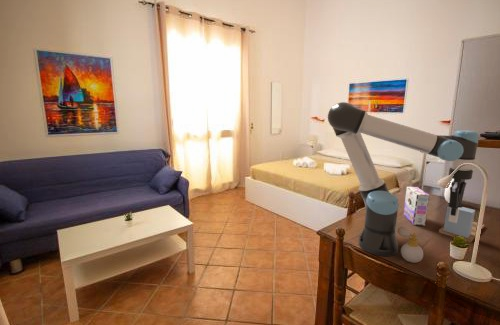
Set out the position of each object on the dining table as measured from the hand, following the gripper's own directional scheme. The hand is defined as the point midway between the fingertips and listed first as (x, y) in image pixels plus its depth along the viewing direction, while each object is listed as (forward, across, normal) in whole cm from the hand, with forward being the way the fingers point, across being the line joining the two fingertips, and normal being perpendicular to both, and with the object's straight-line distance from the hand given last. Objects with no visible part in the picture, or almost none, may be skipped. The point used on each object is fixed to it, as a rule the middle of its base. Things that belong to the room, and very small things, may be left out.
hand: (452, 221), depth 111 cm
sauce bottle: (+11, +57, +14) cm, 60 cm away
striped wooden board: (+10, +20, 0) cm, 22 cm away
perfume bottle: (+10, -27, +6) cm, 30 cm away
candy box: (+10, +14, +19) cm, 26 cm away
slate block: (+9, +11, 0) cm, 14 cm away
